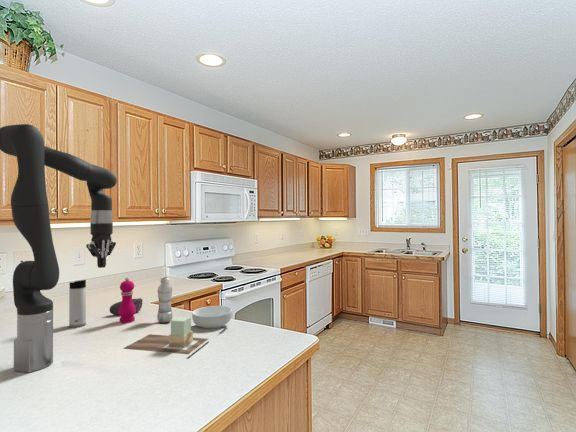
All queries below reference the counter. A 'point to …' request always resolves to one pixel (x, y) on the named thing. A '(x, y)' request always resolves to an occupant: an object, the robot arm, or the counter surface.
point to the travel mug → (77, 304)
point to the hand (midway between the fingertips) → (101, 267)
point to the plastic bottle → (164, 301)
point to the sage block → (180, 326)
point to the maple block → (180, 340)
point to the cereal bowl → (212, 316)
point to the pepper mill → (127, 302)
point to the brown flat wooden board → (165, 345)
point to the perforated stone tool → (115, 307)
